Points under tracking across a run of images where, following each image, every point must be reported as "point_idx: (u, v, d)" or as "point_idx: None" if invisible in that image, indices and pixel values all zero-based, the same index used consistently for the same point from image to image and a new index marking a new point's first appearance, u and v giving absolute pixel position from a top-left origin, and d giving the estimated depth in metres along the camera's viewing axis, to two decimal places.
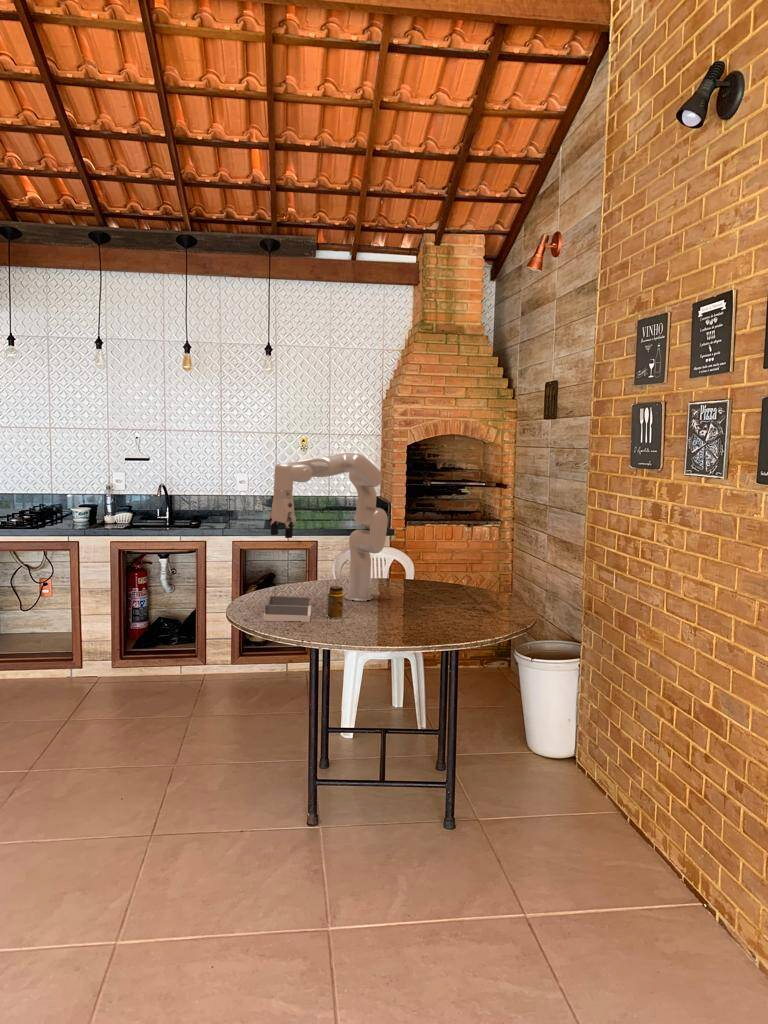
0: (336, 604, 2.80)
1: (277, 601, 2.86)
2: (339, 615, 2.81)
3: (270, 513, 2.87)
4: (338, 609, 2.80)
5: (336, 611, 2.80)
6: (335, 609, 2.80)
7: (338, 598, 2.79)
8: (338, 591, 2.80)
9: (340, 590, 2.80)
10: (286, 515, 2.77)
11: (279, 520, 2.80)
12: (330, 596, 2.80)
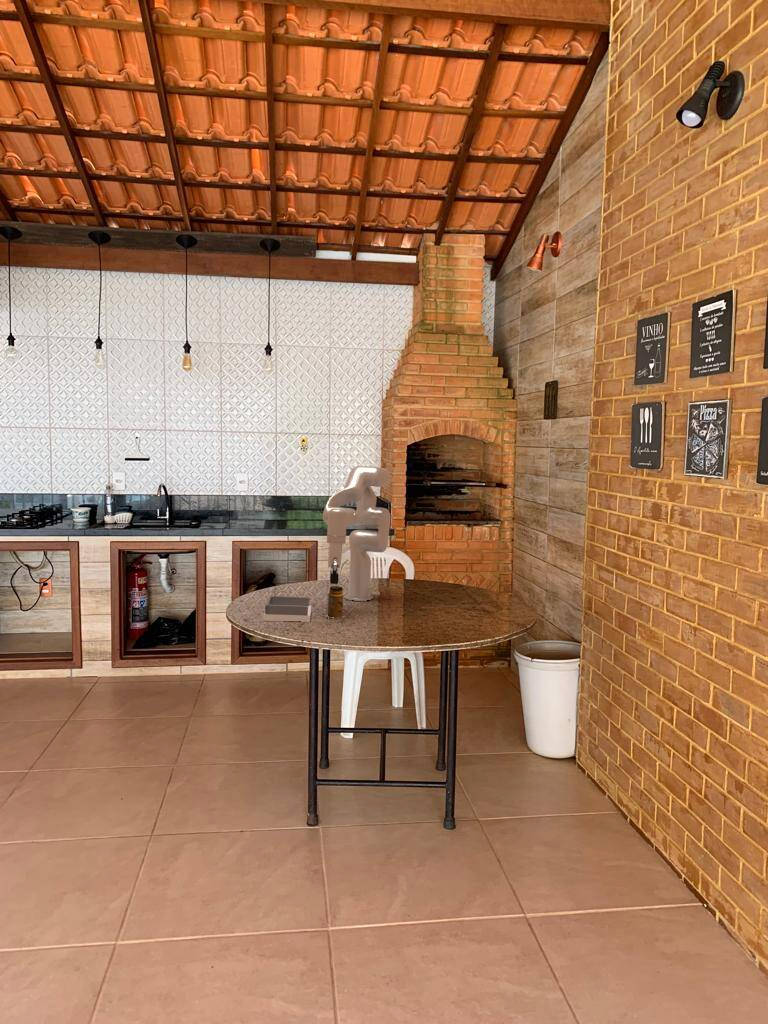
0: (336, 604, 2.80)
1: (277, 601, 2.86)
2: (339, 615, 2.81)
3: (336, 563, 2.73)
4: (338, 609, 2.80)
5: (336, 611, 2.80)
6: (335, 609, 2.80)
7: (338, 598, 2.79)
8: (338, 591, 2.80)
9: (340, 590, 2.80)
10: None
11: (339, 565, 2.82)
12: (330, 596, 2.80)
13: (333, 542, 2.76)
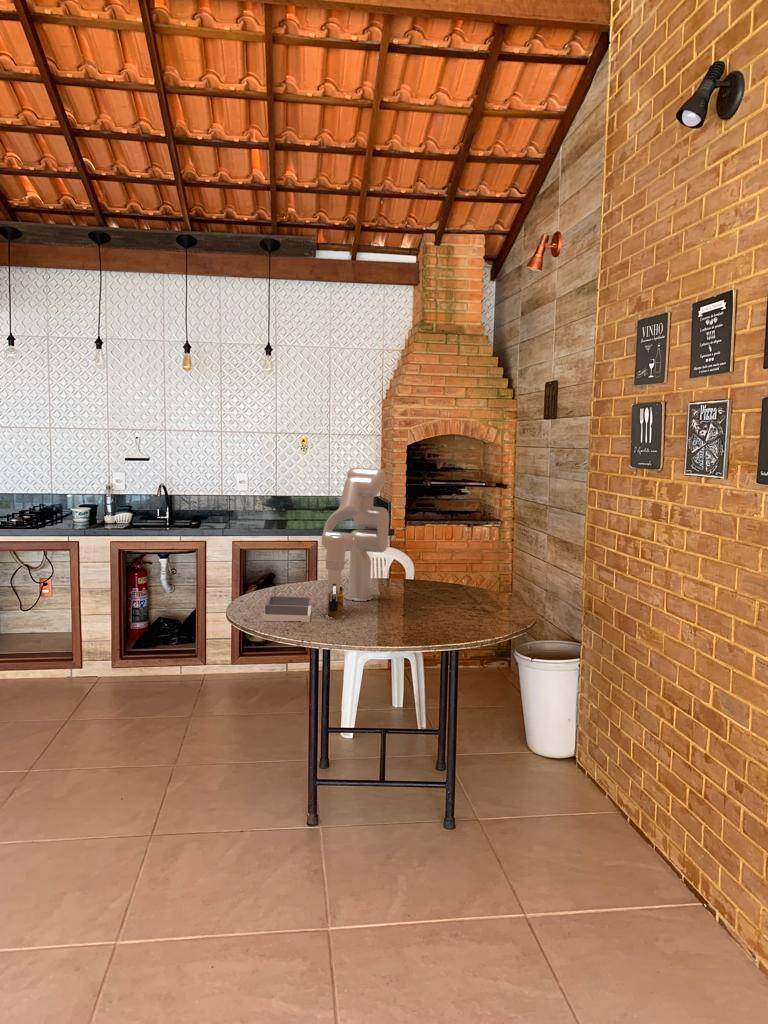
0: None
1: (277, 601, 2.86)
2: (339, 615, 2.81)
3: (335, 592, 2.75)
4: (338, 609, 2.80)
5: (337, 611, 2.80)
6: None
7: (338, 598, 2.79)
8: None
9: (340, 590, 2.80)
10: None
11: None
12: (330, 596, 2.80)
13: (332, 568, 2.77)
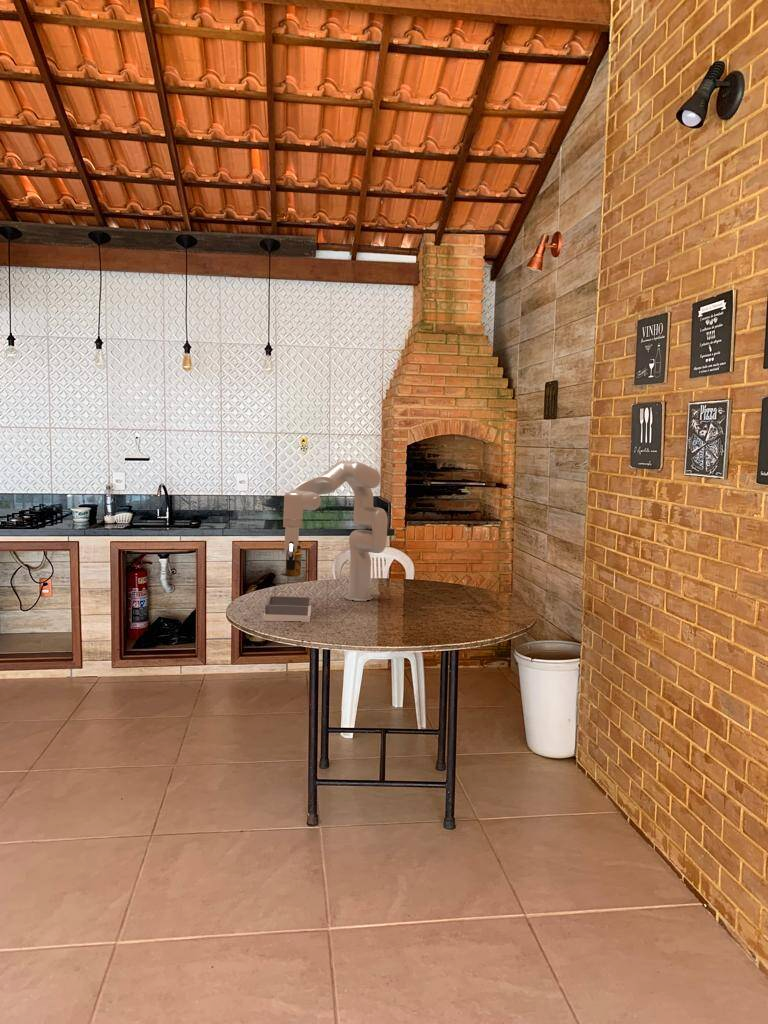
0: None
1: (277, 601, 2.86)
2: (297, 574, 2.76)
3: (292, 549, 2.70)
4: (296, 567, 2.75)
5: (294, 569, 2.75)
6: None
7: (295, 557, 2.74)
8: None
9: (298, 548, 2.75)
10: None
11: None
12: None
13: (289, 526, 2.72)
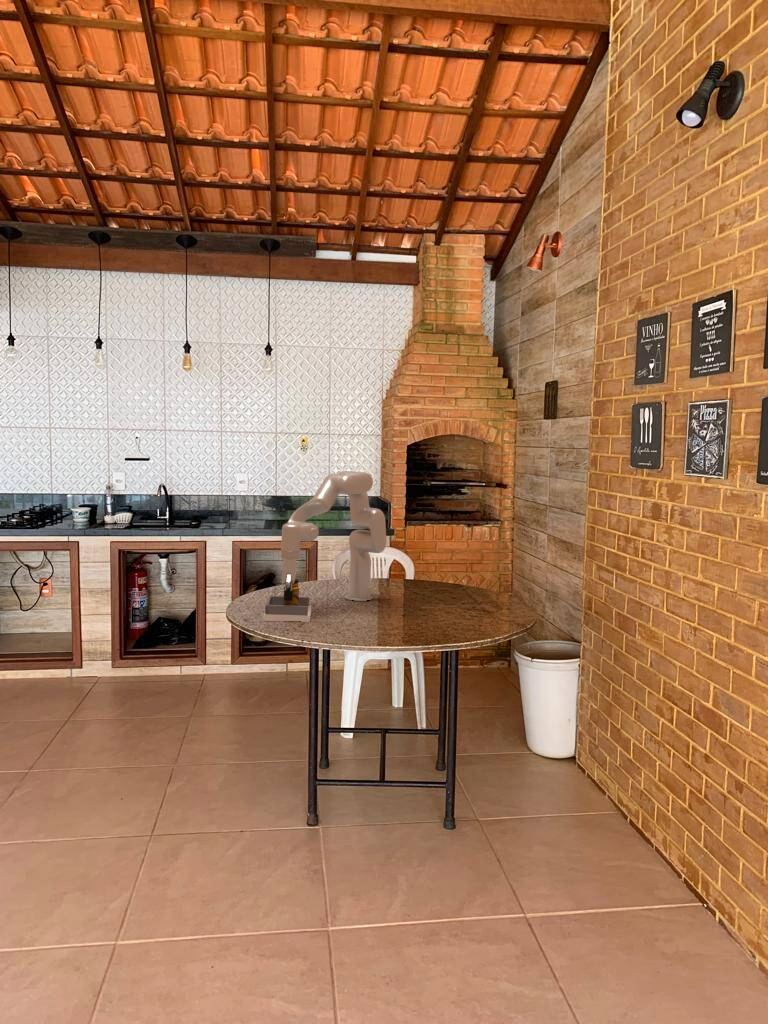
0: (292, 596, 2.76)
1: (277, 601, 2.86)
2: None
3: (290, 580, 2.71)
4: (294, 602, 2.76)
5: (292, 604, 2.76)
6: (291, 602, 2.76)
7: (293, 591, 2.76)
8: (294, 584, 2.76)
9: (296, 583, 2.76)
10: None
11: None
12: None
13: (287, 558, 2.73)
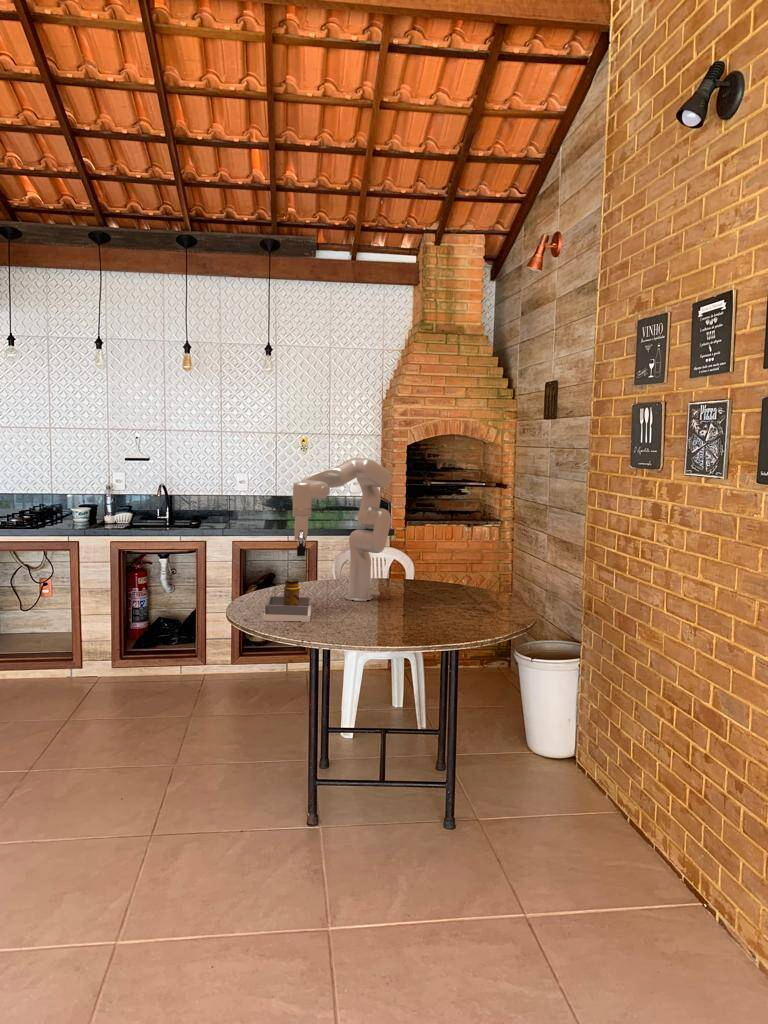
0: (292, 597, 2.76)
1: (277, 601, 2.86)
2: None
3: (302, 535, 2.77)
4: (294, 602, 2.76)
5: (292, 604, 2.76)
6: (291, 602, 2.76)
7: (293, 591, 2.76)
8: (294, 584, 2.76)
9: (296, 583, 2.76)
10: None
11: None
12: (285, 589, 2.76)
13: (298, 515, 2.79)
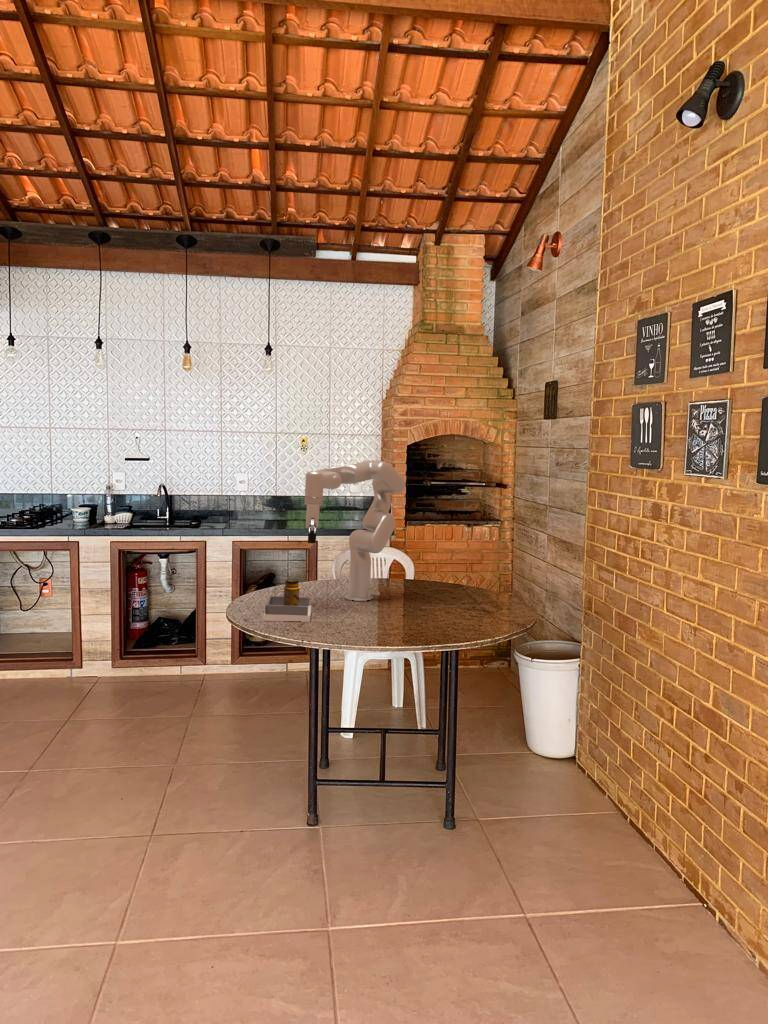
0: (292, 597, 2.76)
1: (277, 601, 2.86)
2: None
3: (313, 523, 2.85)
4: (294, 602, 2.76)
5: (292, 604, 2.76)
6: (291, 602, 2.76)
7: (293, 591, 2.76)
8: (294, 584, 2.76)
9: (296, 583, 2.76)
10: None
11: None
12: (285, 589, 2.76)
13: (310, 503, 2.88)
